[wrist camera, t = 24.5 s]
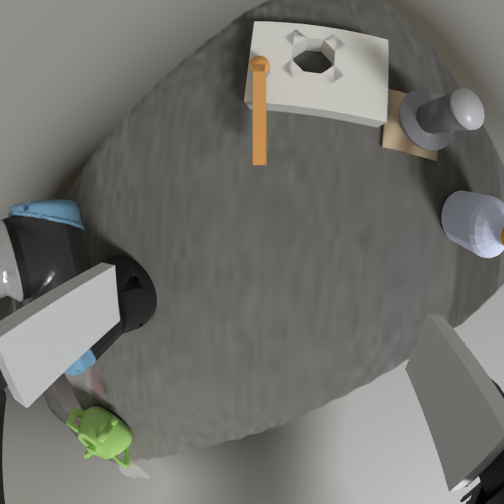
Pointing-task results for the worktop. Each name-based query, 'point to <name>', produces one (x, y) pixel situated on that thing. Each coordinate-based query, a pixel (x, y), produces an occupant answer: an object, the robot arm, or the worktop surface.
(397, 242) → the worktop surface
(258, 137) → the clip
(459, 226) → the soap bottle
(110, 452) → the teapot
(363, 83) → the socket block
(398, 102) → the cork mat
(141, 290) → the robot arm
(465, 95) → the plug
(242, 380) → the worktop surface
